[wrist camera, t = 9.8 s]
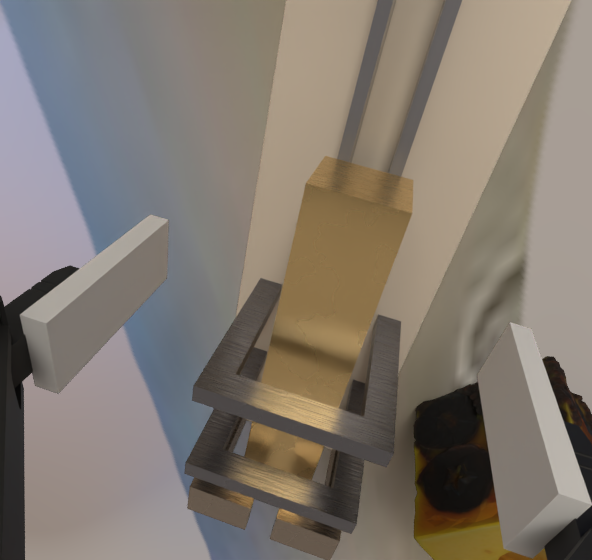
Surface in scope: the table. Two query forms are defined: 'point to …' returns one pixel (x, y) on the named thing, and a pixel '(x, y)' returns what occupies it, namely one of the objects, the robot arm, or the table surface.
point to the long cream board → (394, 126)
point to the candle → (469, 472)
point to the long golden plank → (330, 295)
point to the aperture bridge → (287, 524)
